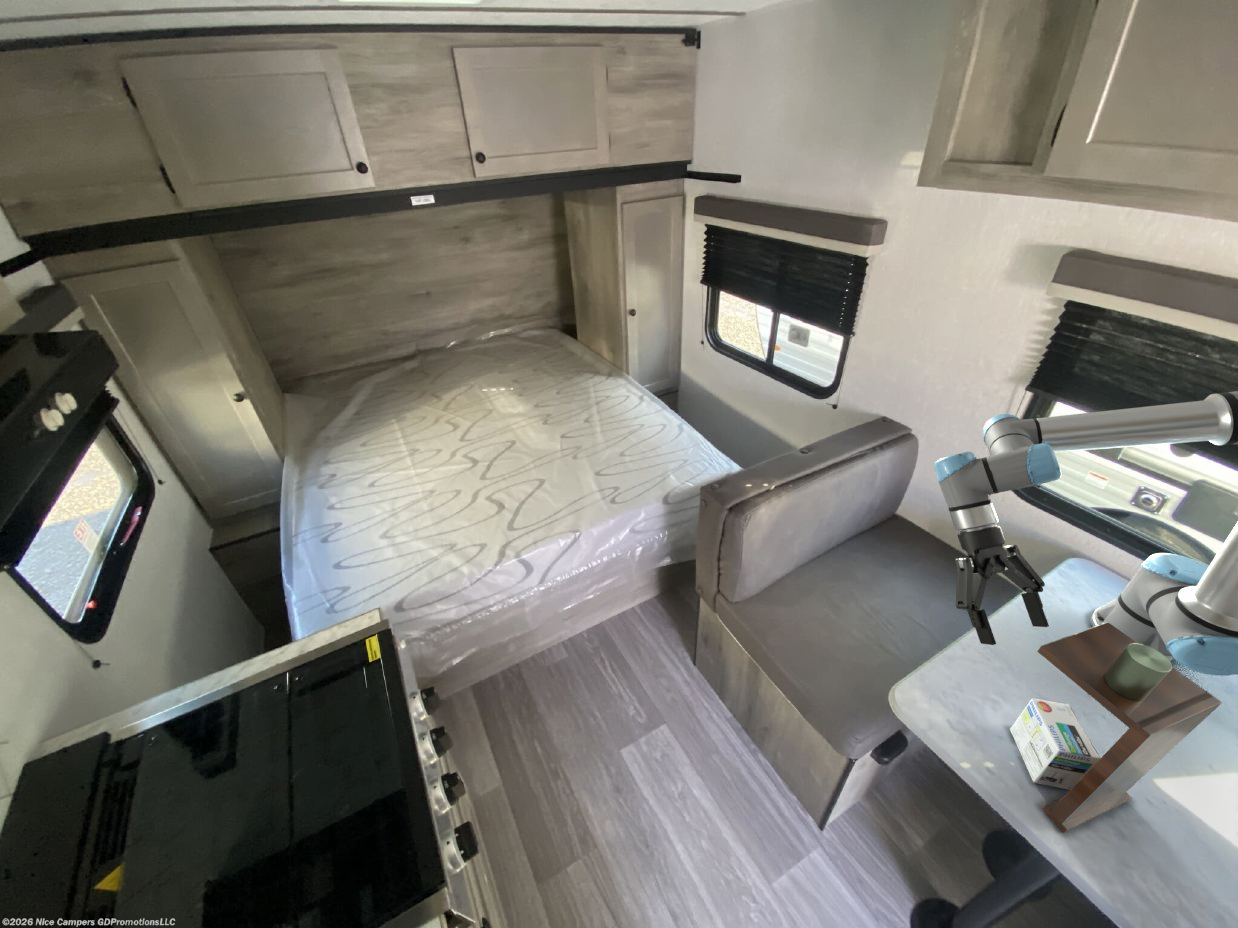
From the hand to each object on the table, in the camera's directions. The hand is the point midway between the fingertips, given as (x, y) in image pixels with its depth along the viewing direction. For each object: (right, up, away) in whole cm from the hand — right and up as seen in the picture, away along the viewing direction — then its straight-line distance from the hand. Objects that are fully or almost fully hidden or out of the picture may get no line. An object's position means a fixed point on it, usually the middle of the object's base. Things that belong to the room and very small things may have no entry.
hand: (1015, 635), depth 99 cm
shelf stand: (+4, -24, -3) cm, 24 cm away
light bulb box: (+3, -23, -2) cm, 23 cm away
